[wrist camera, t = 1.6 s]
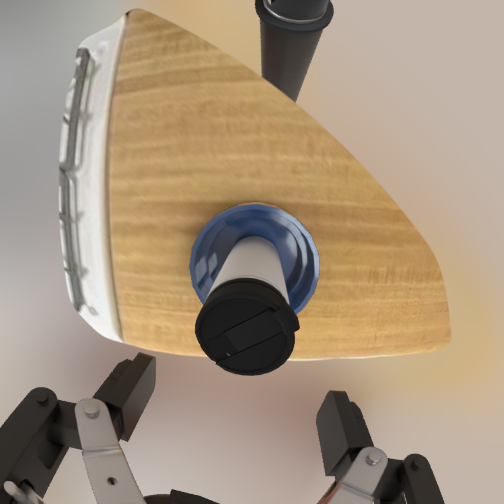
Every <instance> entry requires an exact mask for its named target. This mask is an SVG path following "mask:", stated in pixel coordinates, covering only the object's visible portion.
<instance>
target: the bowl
mask: <svg viewBox="0 0 504 504" xmlns="http://www.w3.org/2000/svg"><path fill="white" fill-rule="evenodd" d="M250 235H258V236H262V237H265V238H267V239H268V240H270V241H271V242H272V243H273V244H274V245H275V247H276V249H277V251H278V254H279V258H280V263H281V267H282V272H283V276H284V281H285V285H286V290H287V295H288V299H289V304H290V306H291V308H292V309H293V311H294V312H295V314H297V313H299V312H300V311H301V310H302V309H303V308H304V307H305V306H306V304H307V303H308V301H309V300H310V298H311V297H312V295H313V294H314V292H315V288H316V285H317V281H318V278H319V274H320V270H319V254H318V251H317V249H316V246H315V244H314V241H313V239H312V236H311V234H310V233H309V232H308V231H307V230H306V229H305V227H304V226H303V225H302V224H301V223H300V222H299V220H298V219H297V218H295V217H294V216H293V215H292V214H290V213H289V212H287V211H285V210H284V209H282V208H280V207H278V206H276V205H272V204H268V203H263V202H249V203H241V204H238V205H236V206H234V207H231V208H229V209H227V210H225V211H223V212H221V213H219V214H217V215H216V216H215V217H214V218H213V219H212V220H211V221H210V222H209V223H207V224H206V225H205V226H204V227H203V228H202V230H201V231H200V233H199V235H198V237H197V239H196V241H195V243H194V245H193V247H192V251H191V258H190V265H189V268H190V274H191V280H192V285H193V287H194V289H195V291H196V293H197V295H198V297H199V299H200V301H201V302H202V304H203V305H204V301H205V299H206V298H207V295H208V294H209V292H210V290H211V288H212V286H213V284H214V282H215V280H216V278H217V276H218V274H219V273H220V271H221V269H222V267H223V265H224V263H225V261H226V259H227V257H228V255H229V254H230V252H231V250H232V248H233V246H234V245H235V244H236V243H237V242H238V241H239V240H240V239H242V238H244V237H246V236H250Z"/></svg>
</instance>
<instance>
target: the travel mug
mask: <svg viewBox="0 0 504 504" xmlns="http://www.w3.org/2000/svg"><path fill="white" fill-rule="evenodd" d="M299 329H300V326H299V321H298V317H297V316H296V314H295V312H294V311H293V309H292V308H291V306H290V304H289V299H288V295H287V290H286V285H285V281H284V276H283V272H282V267H281V263H280V258H279V254H278V251H277V249H276V247H275V245H274V244H273V243H272V242H271V241H270V240H268V239H267V238H265V237H262V236H258V235H250V236H246V237H244V238H242V239H240V240H239V241H238V242H237V243H236V244H235V245H234V246H233V248H232V250H231V252H230V254H229V255H228V257H227V259H226V261H225V263H224V265H223V267H222V269H221V271H220V273H219V274H218V276H217V278H216V280H215V282H214V284H213V286H212V288H211V290H210V292H209V294H208V295H207V298H206V299H205V301H204V305H203V307H202V309H201V311H200V313H199V315H198V317H197V320H196V324H195V334H196V337H197V340H198V342H199V344H200V346H201V348H202V349H203V351H204V352H205V354H206V355H207V356H208V357H209V358H210V359H211V360H213V361H215V362H216V364H217V365H218V366H220V367H221V368H223V369H224V370H226V371H228V372H231V373H234V374H239V375H248V376H254V375H262V374H265V373H269V372H271V371H273V370H275V369H277V368H279V367H280V366H281V365H283V364H284V363H285V362H286V360H287V359H288V358H289V357H290V355H291V353H292V351H293V348H294V344H295V334H294V332H296V331H297V330H299Z"/></svg>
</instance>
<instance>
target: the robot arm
mask: <svg viewBox="0 0 504 504" xmlns="http://www.w3.org/2000/svg"><path fill="white" fill-rule="evenodd" d="M328 1H329V0H263V3H264V7H265V9H266V10H267V12H268V13H269V14H270V15H272V16H273V17H275V18H277V19H279V20H281V21H284V22H287V23H292V24H309V23H313V22H316V21H318V20H319V19H321V18H322V17H323V16H324V14H325V12H326V9H327V4H328ZM155 374H156V358H155V357H153V356H150V355H147V354H144V353H141V352H140V353H138V354H137V356H136V357H135V359H134V360H133V361H131V360H128V359H126V360H124V361H122V362H120V363H118V365H117V366H116V367H115V369H114V370H113V372H111V374H110V375H109V377H108V378H107V379H106V380H105V381H104V383H103V384H102V385H101V387H100V388H99V389H98V391H97V392H96V393H95V395H94V396H93V397H92V398H86V399H83V400H80V401H79V402H78V403H71V402H66V401H61V400H58V399H57V396H56V394H55V393H54V392H53V391H52V390H50V389H48V388H45V387H39V388H35V389H33V390H31V391H30V392H29V393H28V395H27V396H26V397H25V398H24V399H23V401H22V402H21V403H20V404H19V405H18V406H17V408H16V409H15V410H14V411H13V413H12V414H11V415H10V416H9V417H8V419H7V420H6V421H5V422H4V424H3V425H2V426H1V428H0V504H46V503H45V502H44V500H43V497H44V495H45V493H46V491H47V489H48V487H49V485H50V483H51V481H52V479H53V477H54V475H55V473H56V471H57V469H58V468H59V465H60V464H61V462H62V460H63V458H64V456H65V455H66V452H67V451H68V449H69V447H72V448H76V449H81V450H83V452H82V456H83V460H84V463H85V467H86V471H87V474H88V478H89V480H90V484H91V487H92V490H93V493H94V496H95V498H96V501H97V504H219V503H216V502H213V501H211V500H209V499H206V498H204V497H201V496H198V495H194V494H189V493H185V492H181V491H177V490H173V489H172V490H171V493H170V495H169V494H157V495H149V496H145V497H143V496H142V494H141V492H140V490H139V487H138V485H137V483H136V481H135V479H134V477H133V474H132V472H131V470H130V467H129V465H128V462H127V460H126V457H125V455H124V453H123V450H122V449H121V447H120V444H119V441H120V439H122V440H125V441H127V442H128V441H129V438H130V437H131V435H132V433H133V431H134V429H135V427H136V425H137V423H138V421H139V419H140V417H141V415H142V413H143V411H144V409H145V407H146V405H147V403H148V401H149V399H150V397H151V395H152V393H153V391H154V387H155V379H156V378H155V376H156V375H155ZM365 424H366V423H365V420H364V419H363V415H362V412H361V410H360V408H359V407H358V406H357V405H356V404H355V403H354V402H350V401H349V399H348V396H347V393H346V392H345V391H331V390H330V391H329V392H328V393H327V395H326V397H325V399H324V401H323V403H322V405H321V407H320V409H319V411H318V413H317V418H316V425H317V430H318V436H319V441H320V446H321V452H322V458H323V463H324V469H325V475H326V476H335V481H334V482H333V483H332V485H331V486H330V487H329V489H328V490H327V492H326V493H325V494H324V495H323V497H322V498H321V499H320V500H319V502H318V503H317V504H372V503H373V501H374V504H406V502H407V504H445V503H444V500H443V498H442V495H441V492H440V490H439V487H438V484H437V482H436V479H435V477H434V474H433V472H432V469H431V467H430V464H429V462H428V460H427V459H426V458H425V457H424V456H422V455H420V454H410V455H408V456H407V457H406V458H405V459H404V460H395V459H390V458H387V456H386V454H385V453H384V452H383V451H382V450H381V449H378V448H376V447H374V445H373V442H372V439H371V436H370V434H369V431H368V428H367V426H366V425H365ZM404 494H405V497H404ZM405 498H406V501H405Z"/></svg>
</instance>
